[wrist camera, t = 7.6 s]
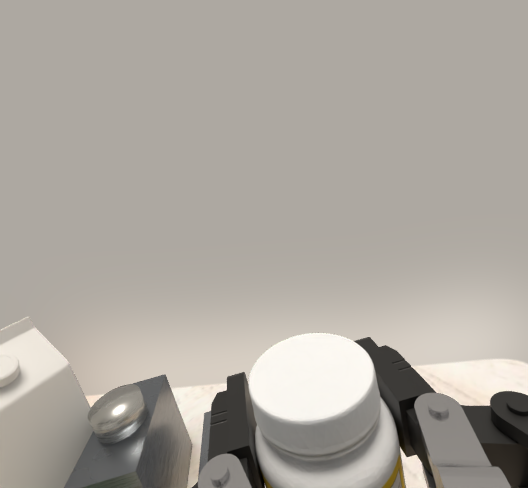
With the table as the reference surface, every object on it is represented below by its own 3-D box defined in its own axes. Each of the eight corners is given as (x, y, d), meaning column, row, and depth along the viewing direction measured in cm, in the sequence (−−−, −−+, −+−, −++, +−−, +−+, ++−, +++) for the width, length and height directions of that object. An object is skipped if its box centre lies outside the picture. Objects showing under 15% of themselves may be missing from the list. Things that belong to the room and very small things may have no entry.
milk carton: (14, 551, 26) (-106, 367, 21) (92, 472, 32) (11, 314, 27) (54, 596, 22) (-81, 385, 17) (134, 498, 28) (49, 318, 23)
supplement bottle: (307, 475, 15) (268, 324, 13) (414, 498, 13) (389, 325, 11) (274, 611, 11) (207, 419, 8) (426, 677, 9) (388, 448, 6)
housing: (92, 644, 19) (16, 523, 16) (148, 449, 33) (111, 365, 30) (401, 542, 20) (378, 413, 18) (332, 394, 34) (313, 308, 31)
